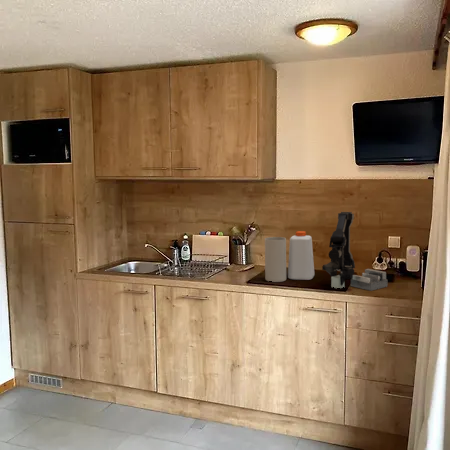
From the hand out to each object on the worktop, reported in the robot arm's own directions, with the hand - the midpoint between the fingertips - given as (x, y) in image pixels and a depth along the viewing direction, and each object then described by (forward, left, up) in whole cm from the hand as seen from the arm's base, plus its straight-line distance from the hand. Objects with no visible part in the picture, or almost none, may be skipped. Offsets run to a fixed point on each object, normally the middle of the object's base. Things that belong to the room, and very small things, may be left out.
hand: (337, 284), depth 278 cm
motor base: (+10, +14, -2) cm, 17 cm away
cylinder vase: (-36, -14, -2) cm, 39 cm away
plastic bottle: (-31, +2, -2) cm, 31 cm away
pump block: (0, 0, -2) cm, 2 cm away
